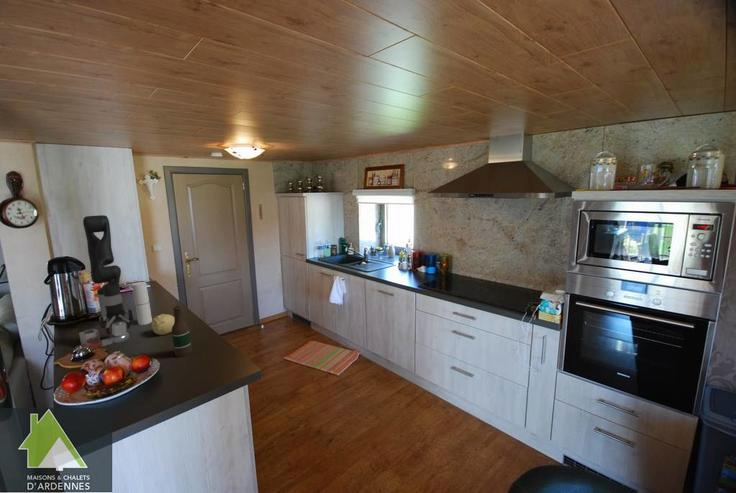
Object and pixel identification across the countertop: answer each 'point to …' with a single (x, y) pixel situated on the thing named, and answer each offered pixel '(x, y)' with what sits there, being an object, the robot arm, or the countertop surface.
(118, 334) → the socket
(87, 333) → the socket
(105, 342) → the wine glass
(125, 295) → the countertop surface
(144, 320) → the cylindrical container
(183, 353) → the beer bottle
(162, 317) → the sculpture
